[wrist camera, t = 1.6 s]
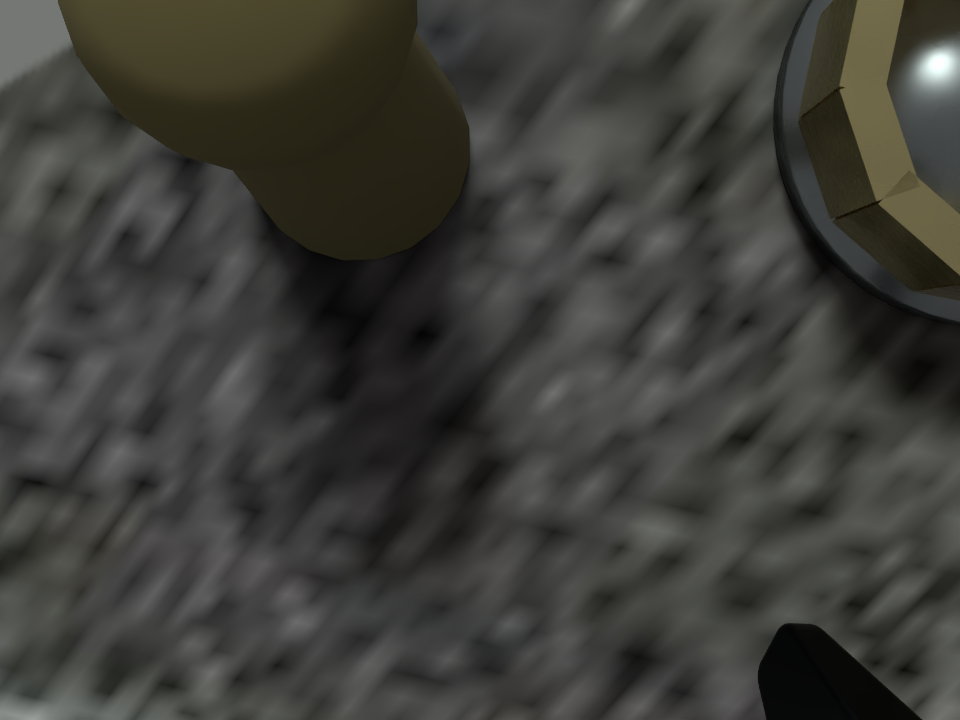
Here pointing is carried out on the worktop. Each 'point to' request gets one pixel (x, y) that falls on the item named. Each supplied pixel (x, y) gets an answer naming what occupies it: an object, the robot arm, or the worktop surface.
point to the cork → (292, 107)
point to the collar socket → (877, 145)
